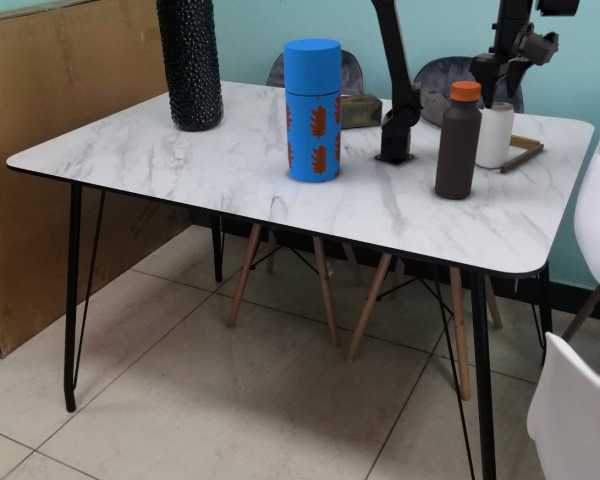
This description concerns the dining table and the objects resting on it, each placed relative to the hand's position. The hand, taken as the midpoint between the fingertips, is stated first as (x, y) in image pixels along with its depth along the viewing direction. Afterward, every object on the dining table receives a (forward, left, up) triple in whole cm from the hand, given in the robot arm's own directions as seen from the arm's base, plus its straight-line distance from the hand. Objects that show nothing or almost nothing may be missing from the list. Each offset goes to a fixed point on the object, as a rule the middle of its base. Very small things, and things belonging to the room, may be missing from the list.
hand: (500, 103), depth 114 cm
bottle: (-18, -2, -13) cm, 22 cm away
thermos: (-28, +25, -13) cm, 39 cm away
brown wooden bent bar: (+5, 0, -13) cm, 14 cm away
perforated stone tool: (+15, +24, -13) cm, 31 cm away
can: (0, 0, -13) cm, 13 cm away
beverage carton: (-1, +41, -13) cm, 43 cm away
